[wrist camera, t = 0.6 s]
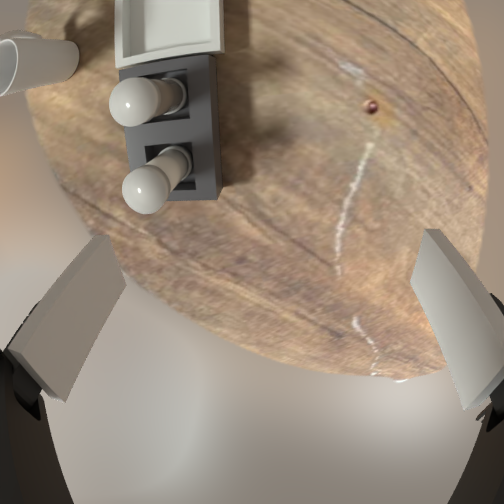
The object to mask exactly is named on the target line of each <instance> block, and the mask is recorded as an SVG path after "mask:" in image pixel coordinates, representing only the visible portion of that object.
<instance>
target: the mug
mask: <svg viewBox="0 0 504 504" xmlns="http://www.w3.org/2000/svg"><path fill="white" fill-rule="evenodd" d="M14 37H18V38H14ZM10 38H13V39H10ZM78 62H79V50H78V47H77V45H76V44H75V43H73V42H71V41H66V40H56V39H42V37H41V35H39V34H35V33H31V32H27V31H21V30H13V31H9V32H7V33H5V34H3V35H0V96H3V95H8V94H11V93H15V92H19V91H23V90H27V89H31V88H36V87H40V86H45V85H50V84H55V83H60V82H64V81H66V80H67V79H69V78H70V77H71V76H72V75H73V73H74V72H75V70H76V68H77V66H78Z"/></svg>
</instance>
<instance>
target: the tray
mask: <svg viewBox="0 0 504 504" xmlns="http://www.w3.org/2000/svg"><path fill="white" fill-rule="evenodd" d="M223 53H225V45H224V8H223V0H115V63H116V68H124V69H126V68H131V67H135V66H139V65H144V64H149V63H154V62H159V61H165V60H171V59H177V58H184V57H191V56H199V55H212V54H223Z"/></svg>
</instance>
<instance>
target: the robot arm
mask: <svg viewBox="0 0 504 504" xmlns="http://www.w3.org/2000/svg"><path fill="white" fill-rule="evenodd" d="M410 284H411V286H412V288H413V290H414V292H415V294H416V296H417V298H418V300H419V302H420V304H421V306H422V308H423V310H424V312H425V314H426V316H427V318H428V321H429V323H430V325H431V327H432V329H433V332H434V334H435V336H436V339H437V341H438V343H439V346H440V348H441V350H442V353H443V355H444V358H445V360H446V363H447V365H448V368H449V370H450V373H451V376H452V378H453V381H454V384H455V387H456V390H457V392H458V396H459V399H460V402H461V405H462V408H463V410H464V411H465V410H468V409H471V408H474V407H477V406H480V405H481V404H482V403H483V402H484V401H485V399H487V398H488V397H489V396H490V398H491V401H492V402H491V403H490V404H489V405H488V406H487V407H486V408H485V409H484V410H483V411H482V412H481V413H480V414H479V415H478V416H477V418H476V420H477V421H478V420H479V419H480V418H481V417H482V416H484V415H485V417H484V419H483V420H482V426H481V429H480V432H479V435H478V438H477V441H476V443H475V446H474V448H473V451H472V453H471V456H470V458H469V461H468V463H467V465H466V467H465V470H464V472H463V474H462V476H461V478H460V480H459V482H458V485H457V487H456V489H455V491H454V493H453V495H452V496H451V498H450V500H449V502H448V504H504V305H503V304H502V302H501V301H500V300H499V299H497V298H496V297H495V296H494V295H493V294H492V293H490V294H489V293H488V291H487V290H486V288H485V287H484V285H483V284H482V282H481V281H480V280H479V278H478V277H477V276H476V274H475V273H474V272H473V270H472V269H471V268H470V266H469V265H468V264H467V262H466V261H465V260H464V258H463V257H462V256H461V255H460V253H459V252H458V251H457V250H456V248H455V247H454V246H453V245H452V243H451V242H450V241H449V240H448V239H447V237H446V236H445V235H444V234H443V233H442V232H441V230H440V229H424V233H423V237H422V241H421V245H420V249H419V253H418V256H417V260H416V264H415V267H414V270H413V274H412V277H411V280H410ZM125 287H126V283H125V280H124V277H123V274H122V272H121V269H120V266H119V264H118V261H117V258H116V255H115V252H114V249H113V246H112V243H111V240H110V237H109V235H95V236H94V237H93V238H92V240H91V241H90V242H89V243H88V244H87V245H86V246H85V247H84V248H83V250H82V251H81V252H80V253H79V254H78V255H77V257H76V258H75V259H74V260H73V261H72V262H71V263H70V265H69V266H68V267H67V268H66V269H65V270H64V272H63V273H62V274H61V275H60V277H59V278H58V279H57V280H56V282H55V283H54V284H53V285H52V287H51V288H50V289H49V290H48V292H47V293H46V294H45V296H44V297H43V298H42V300H40V301H39V302H38V303H37V304H36V305H35V306H34V307H33V309H32V310H31V311H30V313H29V316H27V317H26V319H25V320H24V321H23V324H21V325H20V327H19V328H18V330H17V331H16V333H15V334H14V336H13V337H12V339H11V341H10V342H9V344H8V345H7V346H6V348H5V349H4V351H3V352H2V350H1V349H0V504H74V503H73V500H72V498H71V495H70V493H69V490H68V488H67V485H66V482H65V479H64V476H63V473H62V471H61V467H60V464H59V461H58V458H57V455H56V451H55V448H54V444H53V440H52V437H51V432H50V428H49V423H48V419H47V414H46V409H45V404H44V400H43V397H42V396H41V395H40V392H41V390H42V389H43V390H44V391H45V392H46V393H47V394H48V395H49V396H50V397H51V398H53V399H55V400H58V401H61V402H63V403H65V402H66V400H67V398H68V396H69V393H70V391H71V389H72V387H73V385H74V383H75V381H76V378H77V376H78V374H79V372H80V370H81V368H82V366H83V364H84V362H85V360H86V358H87V356H88V354H89V352H90V350H91V348H92V346H93V344H94V342H95V340H96V339H97V337H98V335H99V333H100V331H101V329H102V327H103V325H104V324H105V322H106V320H107V318H108V316H109V315H110V313H111V311H112V309H113V307H114V306H115V304H116V302H117V300H118V299H119V297H120V295H121V294H122V292H123V290H124V289H125Z"/></svg>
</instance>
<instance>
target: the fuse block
mask: <svg viewBox="0 0 504 504" xmlns="http://www.w3.org/2000/svg"><path fill="white" fill-rule="evenodd" d="M139 77H143V78H147V79H163V78H177V79H180V80H181V81H183V82H184V83H185V84H186V86H187V88H188V97H189V98H188V101H187V103H186V105H185V106H184V107H183V108H182V109H181V110H179V111H177V112H175V113H171V114H166V115H165V114H162V115H159V116H156V117H153V118H152V119H151V120H149V121H147V122H145V123H142V124H140V125H137V126H132V127H128V126H124V131H125V139H126V146H127V153H128V159H129V166H130V172H132V171H133V170H135V169H136V168H138V167H139V166H142V165H145V164H147V163H148V162H150V161H151V160H152V159H154V158H155V157H157V156H158V155H159V153H160V152H161V151H162V150H164V149H165V148H167V147H169V146H171V145H176V144H177V145H182V146H184V147H186V148H188V149H189V150H190V152H191V153H192V155H193V161H194V166H193V169H192V171H191V172H190V173H189V175H188V176H187V177H186V178H185V179H184V180H182V181H180V182H179V183H178V184H177V186H176V187H175V188H174V189H173V190H172V191H171V192H170V195H169V197H168V199H167V200H166V201H187V200H217V199H218V197H219V195H220V193H221V190H222V188H223V183H222V168H221V152H220V134H219V115H218V95H217V72H216V58H215V57H213V56H211V55H199V56H191V57H184V58H177V59H171V60H165V61H159V62H154V63H149V64H144V65H139V66H135V67H131V68H126V69H122V70H119V80H120V82H121V81H123V80H125V79H128V78H139Z"/></svg>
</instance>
